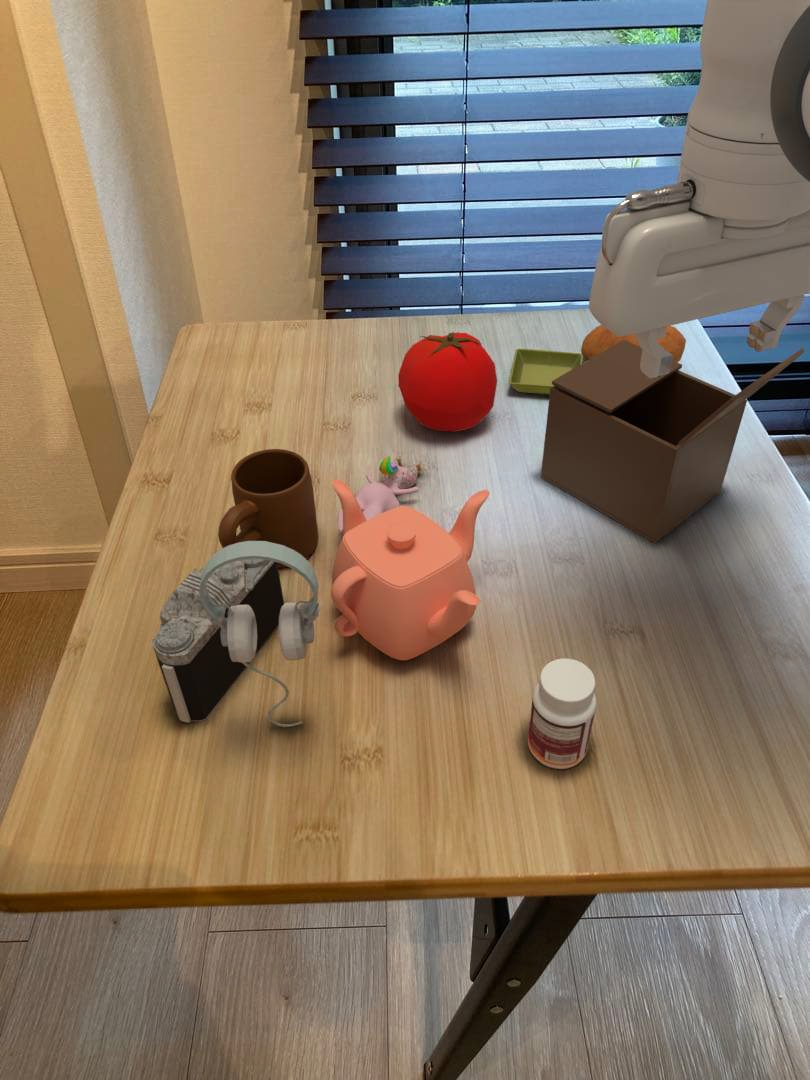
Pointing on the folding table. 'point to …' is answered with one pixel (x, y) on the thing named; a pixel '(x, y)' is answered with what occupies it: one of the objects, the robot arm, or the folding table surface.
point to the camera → (212, 633)
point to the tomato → (448, 381)
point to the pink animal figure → (384, 489)
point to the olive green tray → (540, 369)
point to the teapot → (403, 576)
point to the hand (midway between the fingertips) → (708, 359)
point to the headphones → (241, 618)
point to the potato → (605, 339)
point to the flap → (741, 396)
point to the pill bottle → (562, 713)
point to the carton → (637, 440)
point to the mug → (272, 502)
